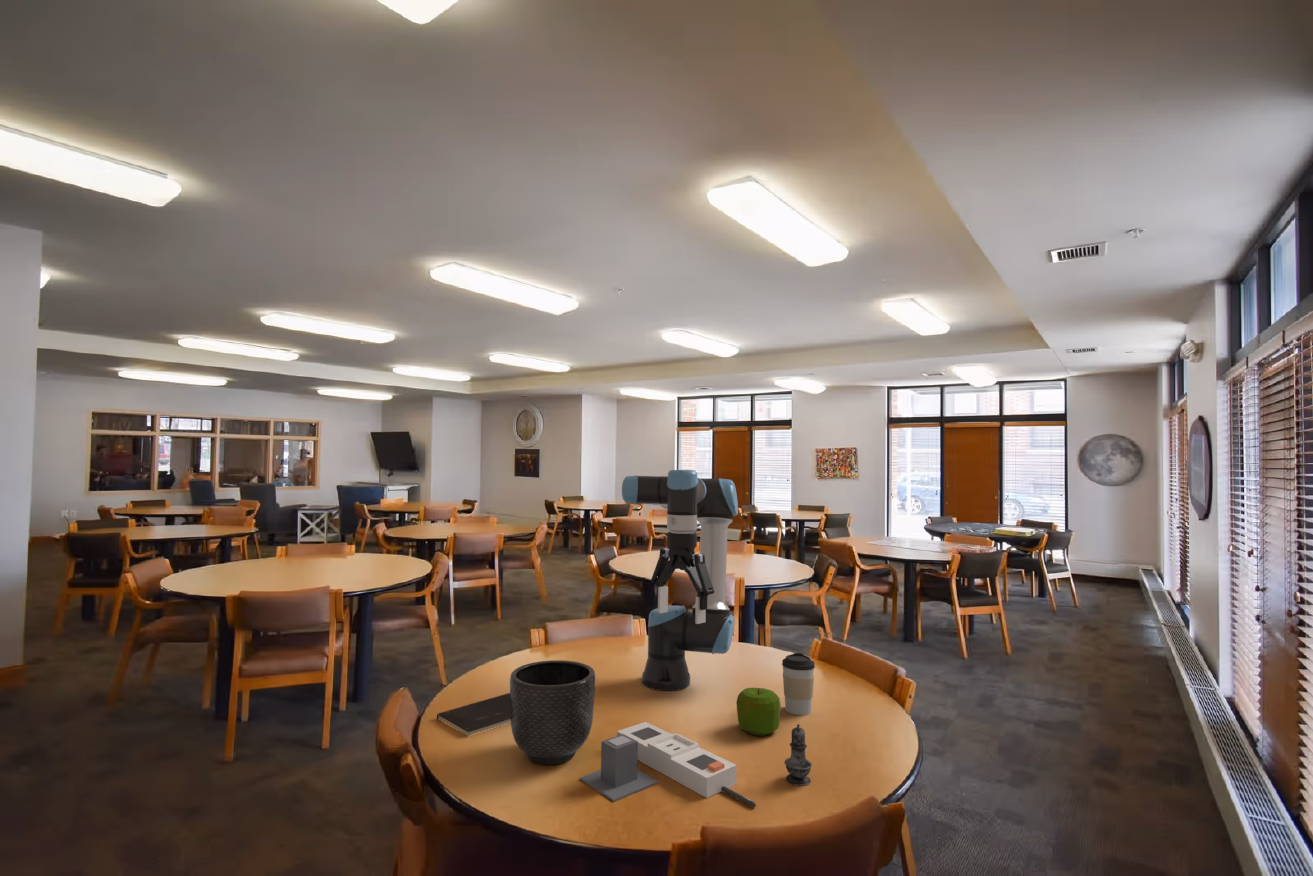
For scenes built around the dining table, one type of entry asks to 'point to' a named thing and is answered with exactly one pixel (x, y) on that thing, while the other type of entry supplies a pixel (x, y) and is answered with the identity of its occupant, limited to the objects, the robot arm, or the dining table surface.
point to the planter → (551, 709)
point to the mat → (622, 791)
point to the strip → (684, 761)
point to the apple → (758, 711)
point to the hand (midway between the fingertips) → (681, 617)
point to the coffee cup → (798, 683)
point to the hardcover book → (479, 715)
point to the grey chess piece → (798, 759)
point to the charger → (619, 760)
